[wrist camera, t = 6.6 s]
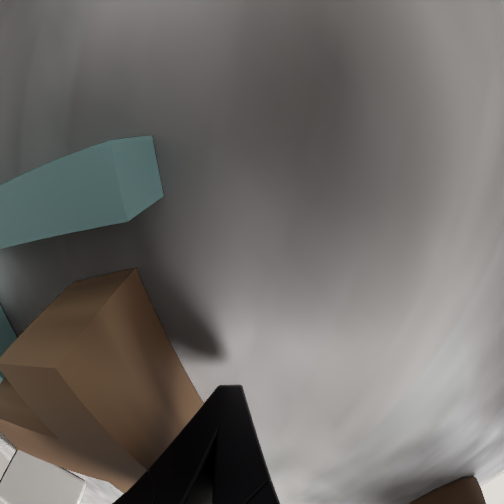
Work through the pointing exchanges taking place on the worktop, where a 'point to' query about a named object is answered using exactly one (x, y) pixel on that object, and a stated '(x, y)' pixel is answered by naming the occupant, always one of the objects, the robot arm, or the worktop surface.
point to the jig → (78, 197)
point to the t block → (96, 382)
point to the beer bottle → (455, 493)
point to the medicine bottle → (38, 482)
